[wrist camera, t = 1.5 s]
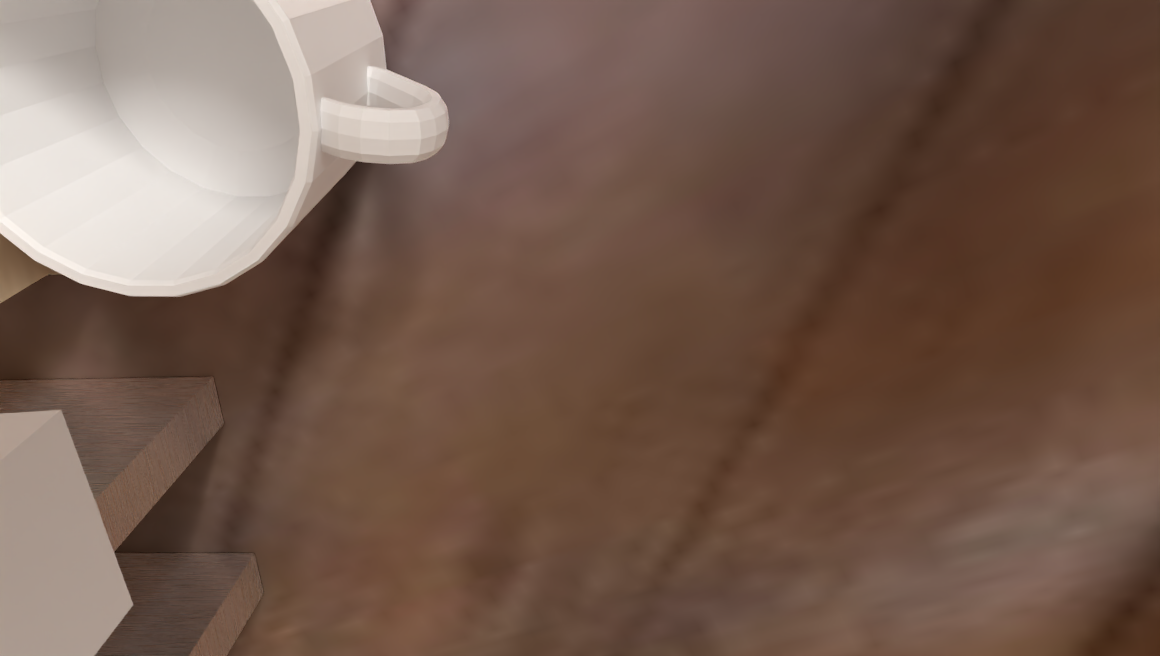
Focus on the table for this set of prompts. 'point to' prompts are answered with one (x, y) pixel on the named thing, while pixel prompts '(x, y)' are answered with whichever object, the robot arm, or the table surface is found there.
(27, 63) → the mug
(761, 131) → the table surface
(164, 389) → the twin slotted uprights
